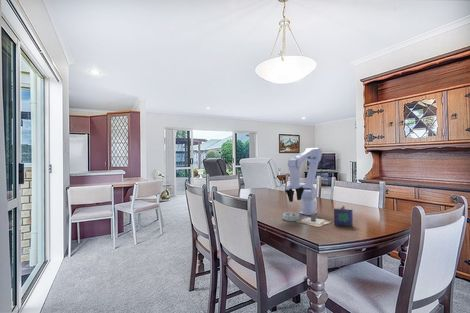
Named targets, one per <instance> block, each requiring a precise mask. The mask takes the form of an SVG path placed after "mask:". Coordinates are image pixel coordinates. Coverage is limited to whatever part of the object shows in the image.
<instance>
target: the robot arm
mask: <svg viewBox="0 0 470 313" xmlns="http://www.w3.org/2000/svg"><path fill="white" fill-rule="evenodd" d="M322 156H323V151H322V148H320V147H310V148H309V147H306V148H305V149H304V152H302V153H298V154H297V155H296V156H294V157H293V158H289V159H288V161H287V166H288V167H287V168H288V171H289V185H287V186H286V185H285V189H284V191H285V193H286V195H287V198H288V202H289V203H290V202H291V203H292V202H294V194H295V193H296V199H297V201H301V211H299V212H298V214H302V215H305V216H311V214H318V211H317V202H316V200H315V199H316V198H317V188H316V187H315V186H314V183H315V179H316V176H317V175H316V174H317V171H318V166H319V163H320V162H321V160H322ZM306 160H307V162H308V163H309V167H308V171H307V175H306V179H305V183H304V184H301V182H300V181H301V180H300V179H301V178H300V168H301V167H302V165H303V163H304V162H306Z"/></svg>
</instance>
